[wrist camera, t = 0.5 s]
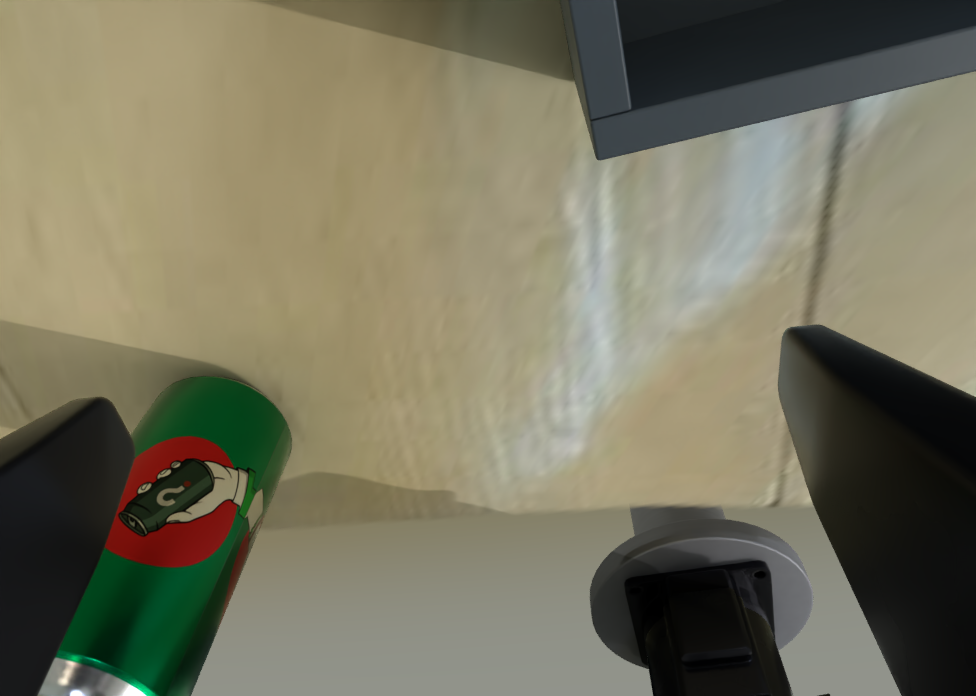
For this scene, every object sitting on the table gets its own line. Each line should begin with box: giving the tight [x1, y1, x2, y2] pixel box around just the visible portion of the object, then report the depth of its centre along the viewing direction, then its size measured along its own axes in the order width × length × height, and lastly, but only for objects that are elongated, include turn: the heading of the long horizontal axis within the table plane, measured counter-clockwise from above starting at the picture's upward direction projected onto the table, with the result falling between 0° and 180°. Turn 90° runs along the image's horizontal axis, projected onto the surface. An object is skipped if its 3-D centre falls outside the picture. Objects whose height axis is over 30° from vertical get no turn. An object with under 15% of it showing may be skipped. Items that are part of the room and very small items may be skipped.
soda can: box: [38, 376, 292, 696], centre depth 21 cm, size 5×5×12 cm
